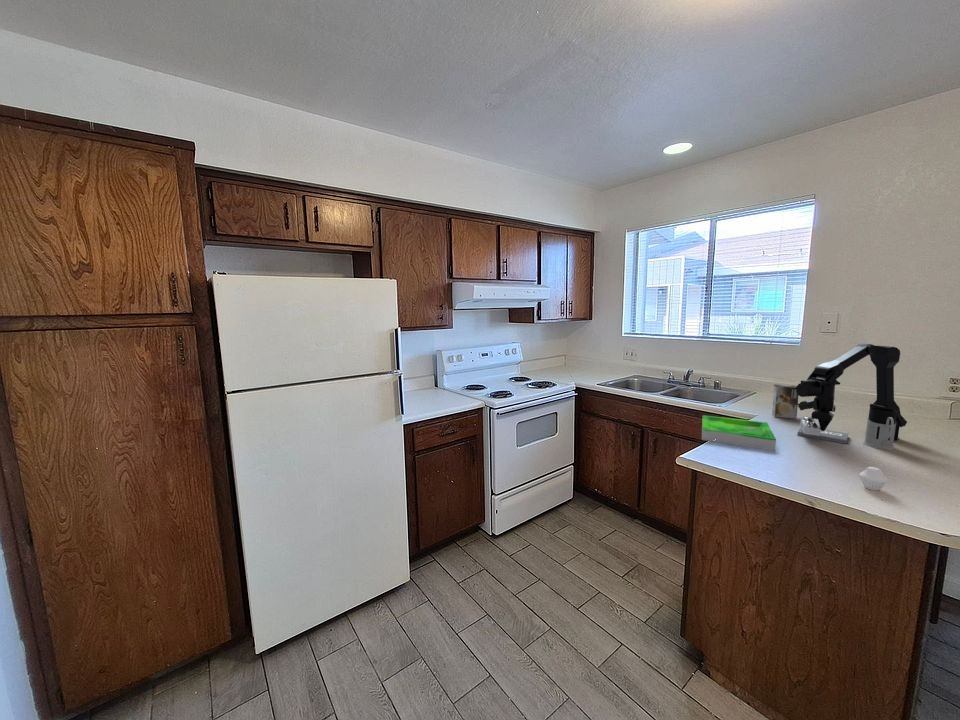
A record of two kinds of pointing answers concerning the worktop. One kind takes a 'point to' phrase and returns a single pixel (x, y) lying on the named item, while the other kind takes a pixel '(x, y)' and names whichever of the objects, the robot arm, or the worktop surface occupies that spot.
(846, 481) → the worktop surface
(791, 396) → the coffee box
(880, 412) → the grey rounded piece
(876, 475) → the white faceted lump
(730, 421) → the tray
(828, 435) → the label board
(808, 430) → the swing arm
